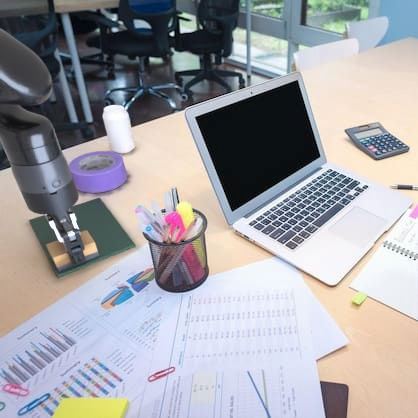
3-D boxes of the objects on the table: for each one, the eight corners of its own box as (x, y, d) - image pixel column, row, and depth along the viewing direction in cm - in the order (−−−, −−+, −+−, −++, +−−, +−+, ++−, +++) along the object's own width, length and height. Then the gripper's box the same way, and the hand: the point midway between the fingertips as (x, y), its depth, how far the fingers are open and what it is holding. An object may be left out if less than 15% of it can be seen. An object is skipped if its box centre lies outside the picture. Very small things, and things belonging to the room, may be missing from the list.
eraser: (58, 272, 71) (52, 258, 68) (51, 258, 73) (45, 244, 71) (99, 255, 75) (94, 242, 72) (91, 243, 77) (86, 229, 75)
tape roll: (75, 171, 98) (69, 153, 95) (125, 164, 102) (121, 147, 99) (73, 197, 89) (67, 178, 86) (129, 188, 94) (124, 170, 91)
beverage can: (124, 142, 111) (114, 102, 104) (140, 148, 110) (132, 107, 102) (106, 151, 107) (95, 109, 100) (123, 157, 105) (113, 115, 98)
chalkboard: (58, 278, 70) (57, 275, 70) (29, 222, 82) (28, 219, 81) (135, 246, 78) (135, 244, 78) (100, 199, 90) (99, 197, 89)
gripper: (8, 167, 65) (42, 243, 75) (29, 208, 57) (64, 287, 67) (58, 154, 70) (84, 228, 80) (84, 191, 61) (110, 268, 72)
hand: (75, 255), depth 74 cm, fingers closed on eraser, 4 cm apart
